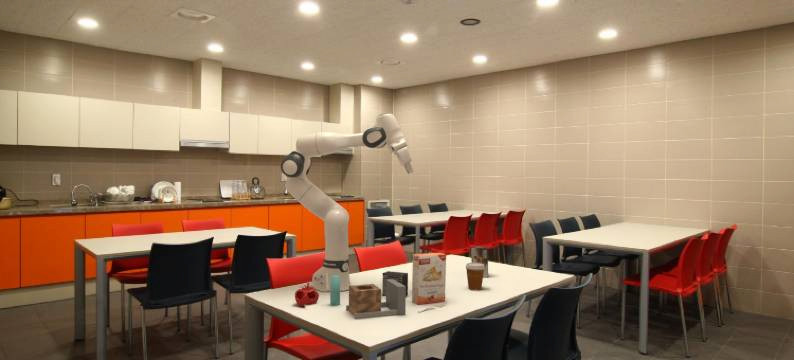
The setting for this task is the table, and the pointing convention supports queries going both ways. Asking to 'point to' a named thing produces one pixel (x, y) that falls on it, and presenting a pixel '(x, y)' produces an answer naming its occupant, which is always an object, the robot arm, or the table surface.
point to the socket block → (364, 298)
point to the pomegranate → (306, 296)
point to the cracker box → (428, 278)
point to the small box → (397, 277)
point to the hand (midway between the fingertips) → (410, 173)
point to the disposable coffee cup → (475, 275)
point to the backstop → (388, 302)
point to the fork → (433, 308)
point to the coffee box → (480, 257)
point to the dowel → (335, 290)
